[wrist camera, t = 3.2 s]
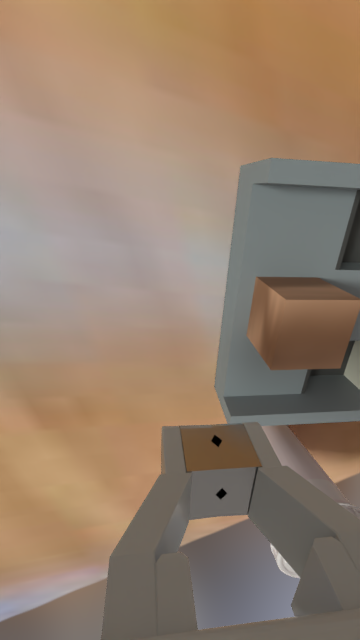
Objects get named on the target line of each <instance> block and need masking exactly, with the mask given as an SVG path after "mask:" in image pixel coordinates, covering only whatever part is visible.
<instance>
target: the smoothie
mask: <svg viewBox="0 0 360 640" xmlns="http://www.w3.org/2000/svg"><path fill="white" fill-rule="evenodd" d="M261 427H262V429H263V431H264V432H265V434H266V436H267V438H268V440H269V442H270V444H271V446H272V448H273V450H274V452H275V453H276V455H277V457H278V459H279V461H280V463H281V465H282V466H288V467H289V468H291V469H292V470H294V471H295V472H296V473H298V474H299V475H300V476H302V477H303V478H304V479H306V480H307V481H308V482H310V483H311V484H312V485H314V486H315V487H316V488H318V489H319V490H320V491H322V492H323V493H325V494H326V495H327V496H329V497H330V498H331V499H333V500H334V501H335V502H337V503H338V504H339V505H341V506H342V507H343V508H345V509H346V510H347V511H349V512H350V513H352V514H353V515H354V516H356V517H357V518H358V519H360V508H359V507H357V506H355V505H352V504H350V502H349V501H348V500H347V499H346V497H345V496H344V495H343V494H342V492H341V491H340V490H339V489H338V487H337V486H336V485H335V484H334V483H333V481H332V480H331V479H330V478H329V476H328V475H327V474H326V473H325V472H324V470H323V469H322V468H321V467H320V465H319V464H318V463H317V462H316V460H315V459H314V458H313V457H312V456H311V454H310V453H309V452H308V451H307V449H306V448H305V447H304V446H303V444H302V443H301V442H300V441H299V440H298V438H297V437H296V436H295V435H294V433H293V432H292V431H291V430H290V428H289V427H288V426H287V425H275V426H261ZM270 546H271V550H272V553H273V554H274V556H275V559H276V562H277V565H278V567H279V569H280V570H281V571H282V572H283V573H285V574H287V575H289V576H292V577H296V578H300V577H299V576H298V574H297V573H296V572H295V571H294V570H293V569H292V567H291V566H290V565H289V564H288V563H287V562H286V560H285V559H284V558H283V557H282V556H281V555H280V553H279V552H278V551H277V550H276V549H275V548H274V546H273V545H272V544H270Z"/></svg>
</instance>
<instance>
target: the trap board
mask: <svg viewBox="0 0 360 640" xmlns="http://www.w3.org/2000/svg"><path fill="white" fill-rule="evenodd" d="M256 277H315V278H320V279H322V280H324V281H326V282H328V283H330V284H332V285H334V286H336V287H338V288H340V289H342V290H344V291H346V292H348V293H350V294H352V295H354V296H356V297H358V298H360V164H351V163H337V162H322V161H308V160H293V159H279V158H269V159H266V160H262V161H258V162H254V163H250V164H246V165H242V166H241V167H240V175H239V184H238V192H237V201H236V209H235V217H234V226H233V234H232V243H231V251H230V259H229V268H228V276H227V285H226V293H225V301H224V310H223V318H222V327H221V335H220V344H219V352H218V360H217V369H216V377H215V386H214V387H215V390H216V392H217V395H218V398H219V401H220V404H221V406H222V409H223V412H224V415H225V418H226V420H227V423H228V424H232V423H247V422H258V423H259V424H260V425H261V426H275V425H294V424H313V423H332V422H351V421H360V310H359V313H358V316H357V319H356V322H355V325H354V328H353V331H352V334H351V337H350V340H349V343H348V346H347V349H346V352H345V356H344V359H343V362H342V365H341V368H338V369H302V370H270V368H269V367H268V366H267V364H266V363H265V361H264V360H263V358H262V357H261V356H260V354H259V353H258V351H257V350H256V348H255V347H254V346H253V344H252V343H251V341H250V340H249V338H248V337H247V336H246V335H247V329H248V323H249V317H250V311H251V304H252V298H253V292H254V286H255V280H256Z"/></svg>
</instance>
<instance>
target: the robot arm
mask: <svg viewBox="0 0 360 640" xmlns="http://www.w3.org/2000/svg"><path fill="white" fill-rule="evenodd" d="M234 515H248V517H249V518H250V519H251V521H252V522H253V523H254V524H255V525H256V526H257V528H258V529H259V530H260V531H261V532H262V533H263V535H264V536H265V537H266V538H267V539H268V541H269V542H270V543H271V544H272V545H273V546H274V548H275V549H276V550H277V551H278V552H279V553H280V555H281V556H282V557H283V558H284V559H285V560H286V562H287V563H288V564H289V565H290V566H291V567H292V569H293V570H294V571H295V572H296V573H297V574H298V576H299V577H300V581H299V584H298V587H297V590H296V593H295V595H294V598H293V601H292V604H291V607H292V610H293V612H294V615H295V617H290V618H283V619H276V620H268V621H261V622H253V623H247V624H239V625H231V626H224V627H217V628H209V629H203V630H198V628H197V621H196V614H195V606H194V597H193V590H192V582H191V575H190V567H189V559H188V557H186V556H185V555H184V554H183V553H181V552H178V549H179V546H180V544H181V541H182V538H183V536H184V533H185V531H186V528H187V525H188V523H189V520H193V519H201V518H209V517H217V516H234ZM101 640H360V519H358V518H357V517H356V516H354V515H353V514H352V513H350V512H349V511H347V510H346V509H345V508H343V507H342V506H341V505H339V504H338V503H337V502H335V501H334V500H333V499H331V498H330V497H329V496H327V495H326V494H325V493H323V492H322V491H320V490H319V489H318V488H316V487H315V486H314V485H312V484H311V483H310V482H308V481H307V480H306V479H304V478H303V477H302V476H300V475H299V474H298V473H296V472H295V471H294V470H292V469H291V468H289V467H288V466H282V465H281V463H280V461H279V459H278V457H277V455H276V453H275V452H274V450H273V448H272V446H271V444H270V442H269V440H268V438H267V436H266V434H265V432H264V431H263V429H262V427H261V425H260V424H259V423H258V422H247V423H232V424H216V425H189V426H179V427H178V426H162V437H161V474H160V476H159V477H158V479H157V480H156V482H155V484H154V485H153V487H152V489H151V490H150V492H149V494H148V495H147V497H146V499H145V500H144V502H143V503H142V505H141V507H140V508H139V510H138V512H137V513H136V515H135V517H134V518H133V520H132V521H131V523H130V525H129V526H128V528H127V530H126V531H125V533H124V535H123V536H122V538H121V539H120V541H119V543H118V544H117V546H116V548H115V549H114V551H113V553H112V554H111V556H110V559H109V569H108V578H107V589H106V597H105V607H104V617H103V626H102V635H101Z"/></svg>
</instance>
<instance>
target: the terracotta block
mask: <svg viewBox="0 0 360 640" xmlns="http://www.w3.org/2000/svg"><path fill="white" fill-rule="evenodd" d="M359 310H360V298H358V297H356V296H354V295H352V294H350V293H348V292H346V291H344V290H342V289H340V288H338V287H336V286H334V285H332V284H330V283H328V282H326V281H324V280H322V279H320V278H315V277H256V280H255V286H254V292H253V298H252V304H251V311H250V317H249V323H248V329H247V335H246V336H247V337H248V338H249V340H250V341H251V343H252V344H253V346H254V347H255V348H256V350H257V351H258V353H259V354H260V356H261V357H262V358H263V360H264V361H265V363H266V364H267V366H268V367H269V368H270V370H302V369H338V368H341V365H342V362H343V359H344V356H345V352H346V349H347V346H348V343H349V340H350V337H351V334H352V331H353V328H354V325H355V322H356V319H357V316H358V313H359Z"/></svg>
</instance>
